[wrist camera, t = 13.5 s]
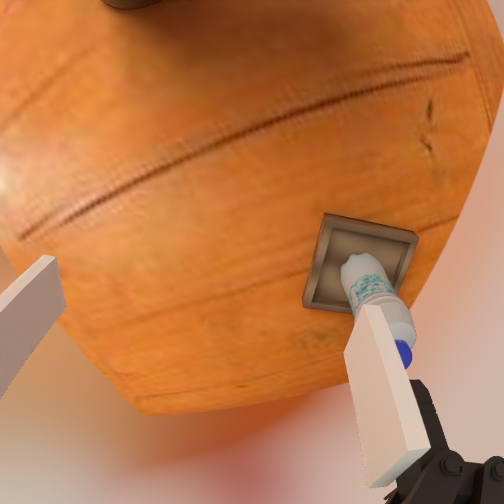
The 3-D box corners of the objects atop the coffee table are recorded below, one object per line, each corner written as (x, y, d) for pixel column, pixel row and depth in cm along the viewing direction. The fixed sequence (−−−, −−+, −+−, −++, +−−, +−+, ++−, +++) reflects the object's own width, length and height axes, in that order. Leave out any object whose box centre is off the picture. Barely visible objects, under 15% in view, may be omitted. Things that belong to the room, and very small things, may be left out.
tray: (324, 212, 43) (326, 218, 40) (412, 231, 43) (419, 237, 41) (301, 298, 49) (303, 307, 47) (383, 309, 49) (387, 317, 47)
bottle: (330, 283, 46) (356, 387, 28) (345, 242, 43) (385, 337, 25) (370, 290, 47) (410, 390, 29) (386, 252, 44) (442, 344, 26)
